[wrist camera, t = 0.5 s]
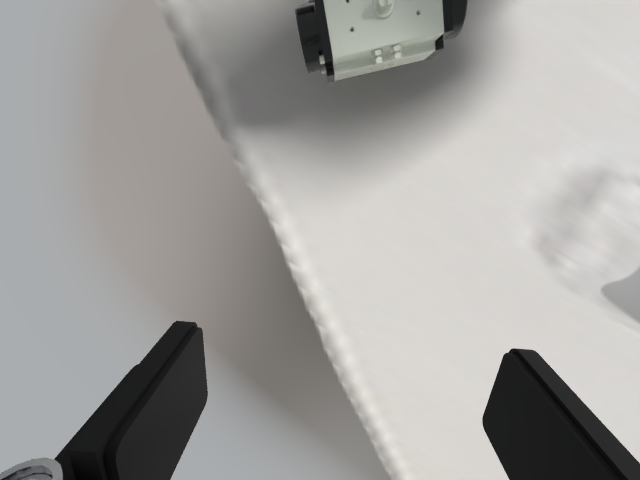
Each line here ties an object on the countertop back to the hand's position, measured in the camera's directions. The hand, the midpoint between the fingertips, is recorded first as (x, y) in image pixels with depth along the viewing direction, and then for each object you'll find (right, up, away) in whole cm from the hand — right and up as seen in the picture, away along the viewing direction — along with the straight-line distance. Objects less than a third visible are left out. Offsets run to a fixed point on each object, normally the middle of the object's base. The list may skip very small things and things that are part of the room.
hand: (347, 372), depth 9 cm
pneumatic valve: (+4, +23, +21) cm, 31 cm away
